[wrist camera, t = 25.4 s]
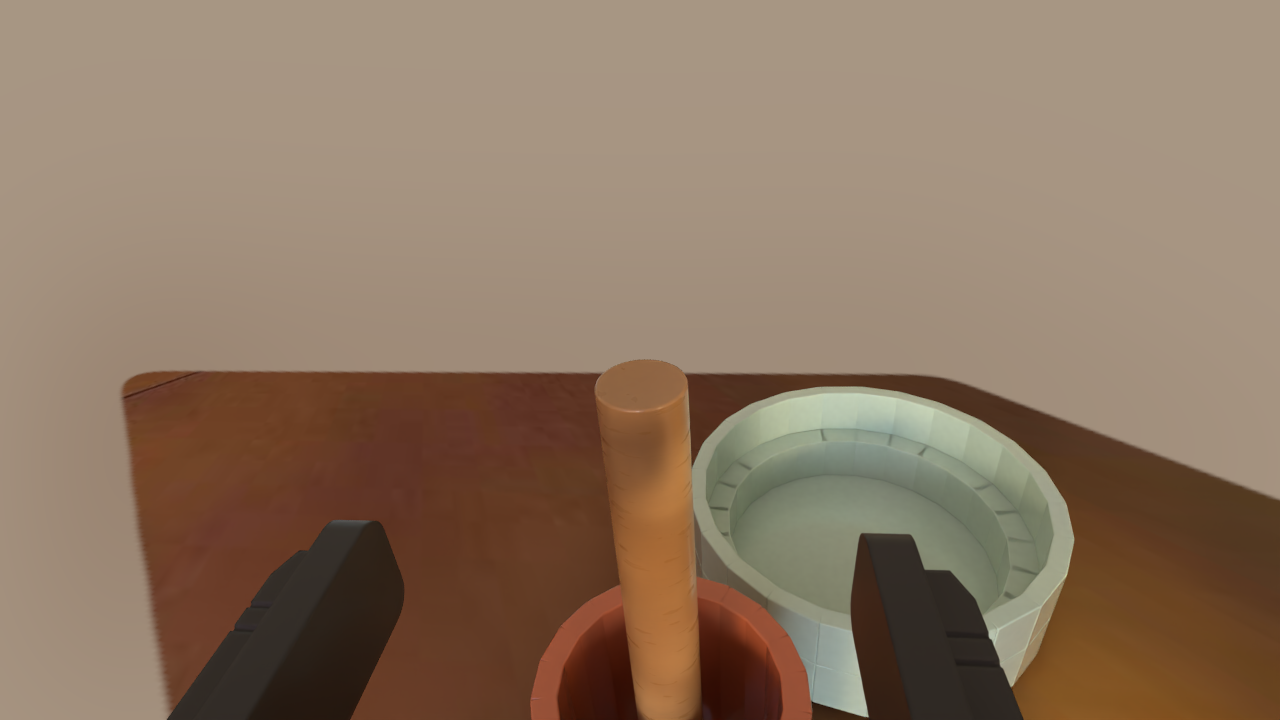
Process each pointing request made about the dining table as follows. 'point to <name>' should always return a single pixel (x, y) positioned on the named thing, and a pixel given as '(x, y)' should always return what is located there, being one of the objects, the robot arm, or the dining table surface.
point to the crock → (729, 660)
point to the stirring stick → (653, 531)
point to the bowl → (875, 518)
